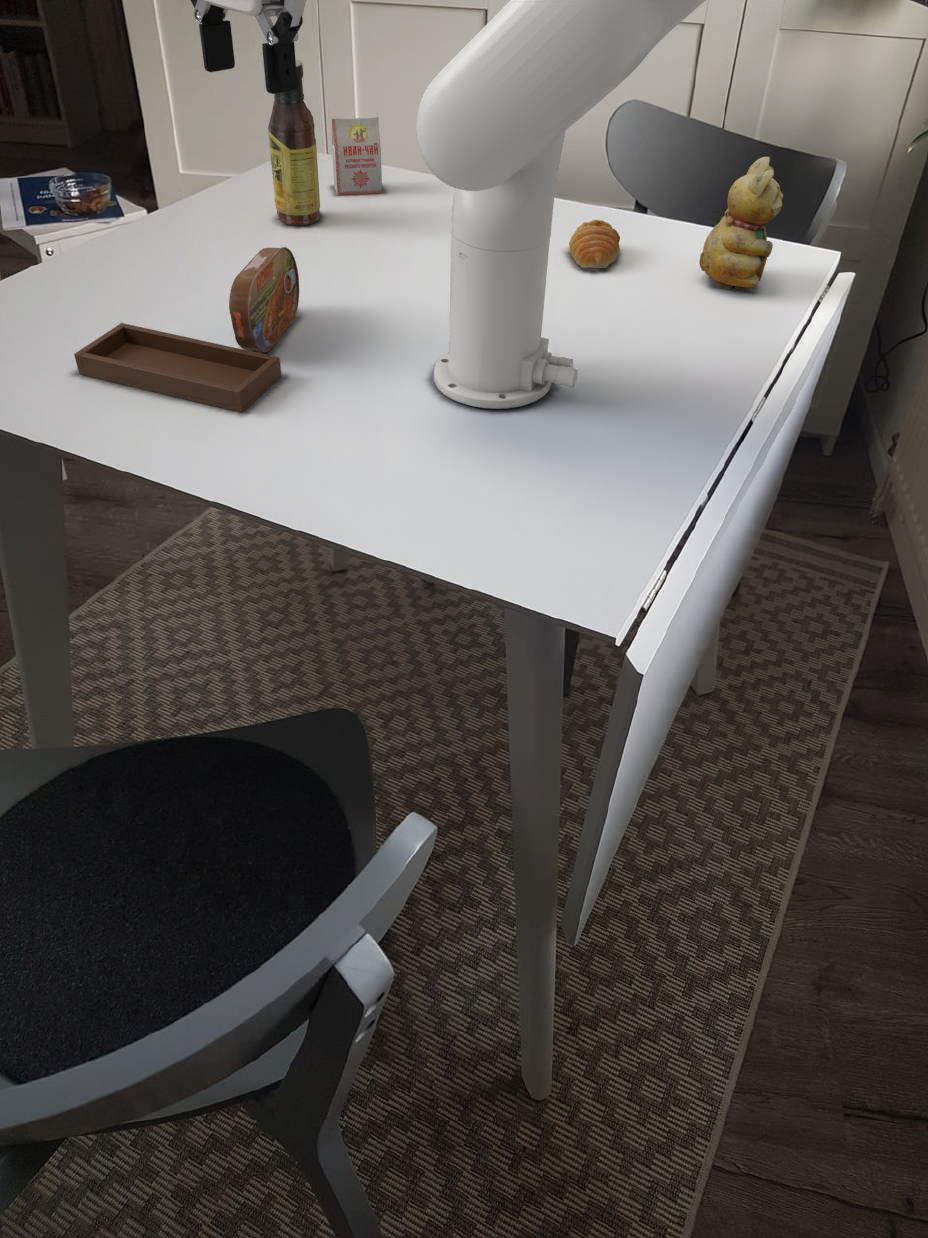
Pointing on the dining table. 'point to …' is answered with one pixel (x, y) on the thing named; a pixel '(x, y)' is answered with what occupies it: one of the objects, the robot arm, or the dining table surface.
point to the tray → (180, 366)
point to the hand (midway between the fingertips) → (250, 79)
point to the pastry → (594, 244)
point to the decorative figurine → (743, 230)
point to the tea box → (356, 156)
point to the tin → (264, 299)
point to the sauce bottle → (294, 157)
